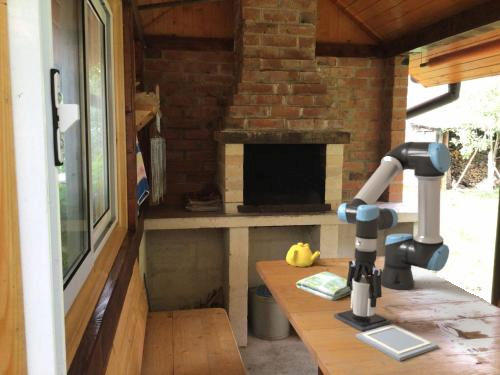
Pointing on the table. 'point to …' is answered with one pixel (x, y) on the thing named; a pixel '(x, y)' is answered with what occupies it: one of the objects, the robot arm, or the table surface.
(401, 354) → the board
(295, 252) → the teapot
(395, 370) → the table surface
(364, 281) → the cup
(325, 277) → the towel
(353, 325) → the ink pad
